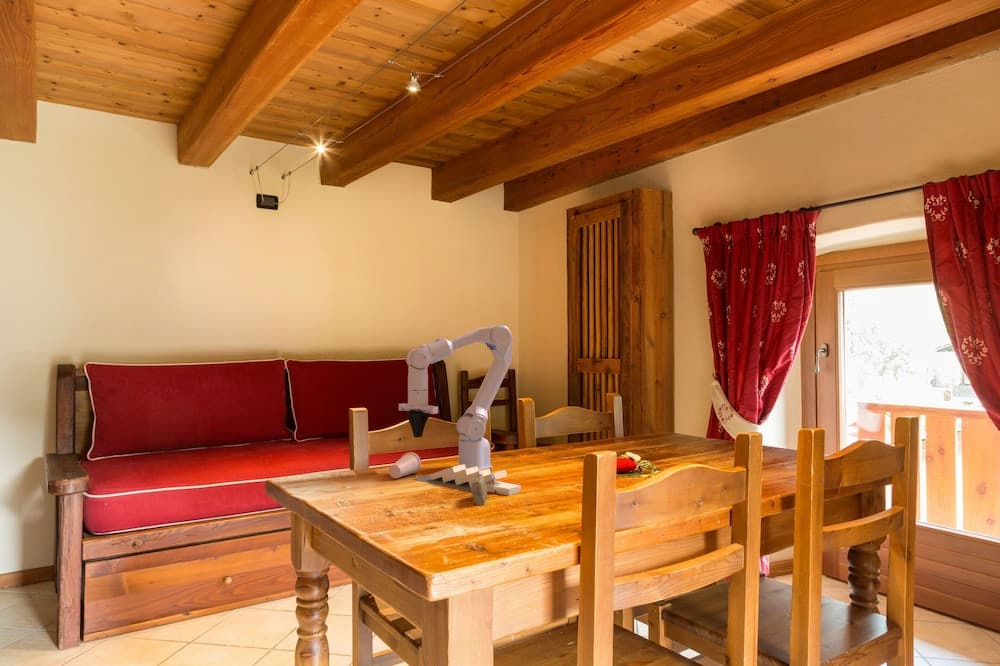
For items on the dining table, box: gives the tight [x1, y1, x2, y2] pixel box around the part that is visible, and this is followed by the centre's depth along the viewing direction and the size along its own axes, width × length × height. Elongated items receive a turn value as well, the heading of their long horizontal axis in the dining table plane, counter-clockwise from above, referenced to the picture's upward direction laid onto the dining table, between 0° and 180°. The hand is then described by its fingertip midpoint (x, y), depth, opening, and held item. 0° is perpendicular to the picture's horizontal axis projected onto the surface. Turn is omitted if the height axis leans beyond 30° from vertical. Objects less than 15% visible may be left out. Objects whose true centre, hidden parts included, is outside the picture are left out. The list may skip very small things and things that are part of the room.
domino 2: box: [442, 466, 480, 483], centre depth 169 cm, size 2×5×9 cm
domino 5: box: [486, 480, 522, 496], centre depth 160 cm, size 2×5×9 cm
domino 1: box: [429, 464, 466, 480], centre depth 172 cm, size 2×5×9 cm
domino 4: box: [469, 469, 508, 487], centre depth 163 cm, size 2×5×9 cm
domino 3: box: [455, 468, 493, 485], centre depth 166 cm, size 2×5×9 cm
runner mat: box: [411, 474, 489, 494], centre depth 170 cm, size 10×26×1 cm, turn 50°
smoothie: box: [388, 451, 422, 479], centre depth 180 cm, size 6×6×14 cm
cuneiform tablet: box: [470, 467, 497, 506], centre depth 153 cm, size 7×4×12 cm
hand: (417, 437), depth 184 cm, fingers closed
